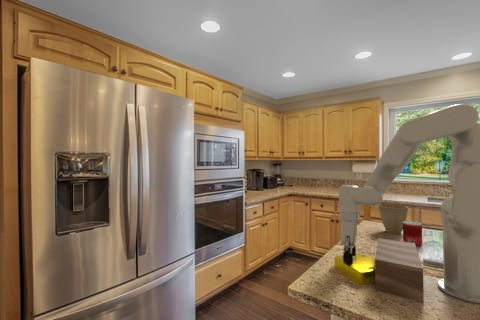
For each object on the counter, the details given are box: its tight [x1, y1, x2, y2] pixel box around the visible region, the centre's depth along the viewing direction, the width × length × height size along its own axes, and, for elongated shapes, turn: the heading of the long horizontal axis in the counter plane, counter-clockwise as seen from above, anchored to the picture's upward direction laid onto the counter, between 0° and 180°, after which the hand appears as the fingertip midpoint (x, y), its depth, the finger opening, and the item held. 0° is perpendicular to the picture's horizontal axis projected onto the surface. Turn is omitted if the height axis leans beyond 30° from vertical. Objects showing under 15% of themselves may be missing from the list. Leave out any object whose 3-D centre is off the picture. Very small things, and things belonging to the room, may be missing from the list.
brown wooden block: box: [374, 237, 425, 303], centre depth 83 cm, size 25×12×10 cm, turn 147°
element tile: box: [333, 252, 376, 285], centre depth 88 cm, size 15×15×5 cm
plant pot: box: [377, 203, 409, 235], centre depth 137 cm, size 15×15×16 cm
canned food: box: [402, 220, 423, 248], centre depth 117 cm, size 8×8×11 cm
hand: (349, 258), depth 91 cm, fingers open, 9 cm apart
